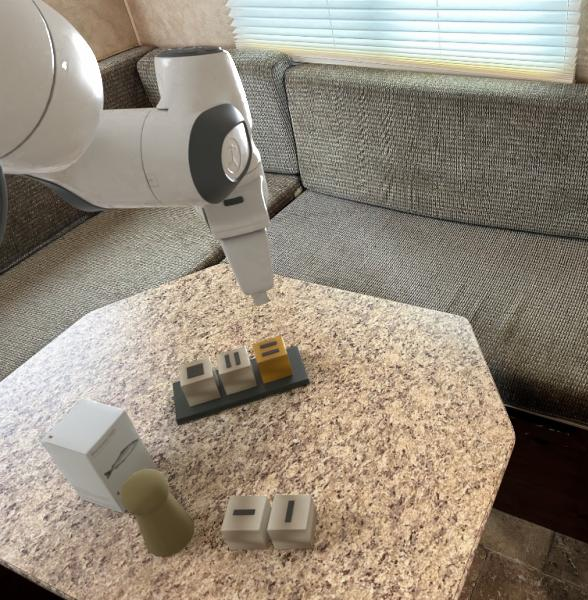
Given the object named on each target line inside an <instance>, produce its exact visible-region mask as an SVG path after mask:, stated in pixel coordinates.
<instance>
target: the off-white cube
mask: <svg viewBox="0 0 588 600" xmlns="http://www.w3.org/2000/svg"><path fill="white" fill-rule="evenodd" d="M226 506H227V507H226V509H225V513H224V517H223V519H222V520H223V521H222V525H221V528H220V532H221V535H222V537H223V538H224V540H225V542H226V545H227V546H228V548H229V551H259V550H261V551H262V550H264V551H265V550H268V549H269V544H270V540H271V538H270V536H269V533H268V531H267V528H268V523H269V518H270V514H271V509H272V504H271V503H270V500H269V497H268V495H267V494H263V495H262V494H261V495H260V494H259V495H258V494H257V495H255V494H253V495H230V496H229V499H228V502H227V505H226Z"/></svg>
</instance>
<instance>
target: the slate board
mask: <svg viewBox="0 0 588 600" xmlns="http://www.w3.org/2000/svg"><path fill="white" fill-rule="evenodd" d="M286 351H287V354H288V358H289V362H290V365H291V369H292V372H293V375H290V376H287V377H284V378H281V379H277V380H274V381H271V382H268V383H263V380H262V377H261V374H260V371H259V367H258V364H257V361H256V357H254V358H250V361H251V364H252V367H253V371H254V375H255V379H256V383H257V386H255V387H252V388H249V389H246V390H242V391H239V392H236V393H233V394H229V395H227V394H226V391H225V389H224V386H223V383H222V381H221V378H220V376H219V371H218V368H217V369H214V370H215V372H216V375H217V378H218V384H219V389H220V395H221V397H220V398H217V399H213V400H210V401H207V402H204V403H200V404H197V405H194V406H191V407H190V406H189V403H188V401H187V399H186V397H185V394H184V392H183V390H182V388H181V383H180V380H178V381H174V382H172V392H173V402H174V404H173V405H174V414H175V421H176V424H177V425H178V426H180V425H183V424H185V423H186V424H187V423H189V422H192V421H196V420H199V419H202V418H205V417H208V416H211V415H214V414H218V413H220V412H224V411H228V410H230V409H233V408H237V407H240V406H243V405H247V404H250V403H253V402H256V401H260V400H262V399H265V398H268V397H273V396H275V395H279V394H282V393H285V392H288V391H292V390H294V389H298V388H301V387H305V386H307V385H310V384H311V382H310V377H309V374H308V372H307V369H306V366H305V363H304V360H303V358H302V355H301V350H300V349H299V345H294V346H290V347H286Z"/></svg>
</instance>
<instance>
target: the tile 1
mask: <svg viewBox="0 0 588 600" xmlns="http://www.w3.org/2000/svg"><path fill="white" fill-rule="evenodd" d="M215 370H216V369H215V367H214V365H213V362H212V359H211V357H210V356H205V357H203V358H200V359H196V360H193V361H189V362H186V363H181V364H179V365H178V373H179V381H180V383H181V388H182V390H183V392H184V394H185V397H186V399H187V401H188V403H189V406H190V407H191V406H194V405H197V404H200V403H204V402H207V401H210V400H213V399H217V398H220V397H221V395H220V389H219V384H218V378H217V375H216V372H215Z"/></svg>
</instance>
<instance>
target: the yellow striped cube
mask: <svg viewBox="0 0 588 600" xmlns="http://www.w3.org/2000/svg"><path fill="white" fill-rule="evenodd" d="M252 349H253V352H254V356H255V357H254V358H256V361H257V364H258V367H259V371H260V374H261V377H262V380H263V383H268V382H271V381H274V380H277V379H281V378H284V377H287V376H290V375H293V372H292V369H291V365H290V362H289V358H288V354H287V351H286V349H287V347H286V345H285V342H284V339H283V335H277V336H273V337H271V338H268V339H264V340H260V341H257V342H254V343H252Z"/></svg>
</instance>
